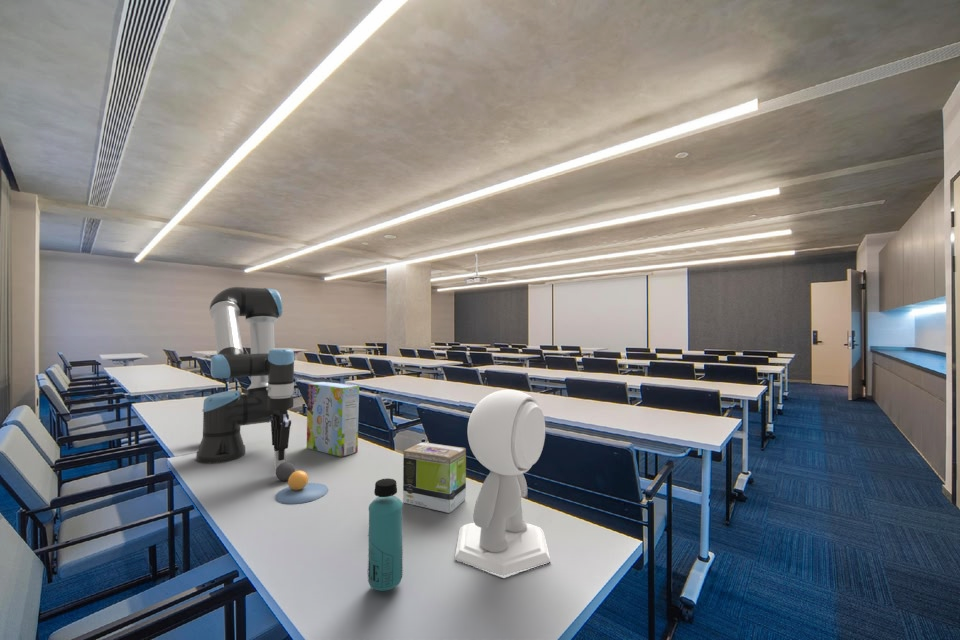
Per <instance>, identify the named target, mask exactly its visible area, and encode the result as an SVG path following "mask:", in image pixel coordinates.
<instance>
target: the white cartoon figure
mask: <svg viewBox="0 0 960 640" xmlns="http://www.w3.org/2000/svg"><path fill="white" fill-rule="evenodd" d="M545 420H546V419H545V415H544V413H543V411H542V409H541V407H540V406H539V403H538V402H537V400H536V399H535V398H534V397H533V396H532V395H530V394H528V393H526V392H523V391H520V390H516V389H500V390H496V391H494V392H492V393H491V392H490V393H489V394H487V395H486V396H484V397H483V398H482V399H481V400H479V402H477V404H476V405H475V406H474V408H473V410H472V411H471V413H470V416H469V419H468V423H467V428H466V429H467V433H466V434H467V440H468V444H469V447H470V450H471V452H472V454H473V456H474V457H475V458H476V460H477V461H478V462H479V463H480V464H481V465H482V466H483V467H484V468H486V469H488V470H489V473H488V475H487V476H486V478H485V479H484V481H483V482H482V486H481V488H480V490H479V493H478V496H477V498H476V500H475V505H474V507H473V508H474V509H473V513H472V514H473V515H472V516H473V522H470V523H467V524H463V525H462V526H461V527H460V528H459V531H458V537H457V543H456V550H455V554H454V555H455V556H454V560H455V561H456V560H457V562H459V561H460V562H459V563H461V562H463V563H462V564H464V563H465V564H464V565H466V564H468V565H467V566H469V565H472V566H474V567H478V568H480V569H484V570H487V571H489V572H493V573H496V574H499V575H503V576H504V575H507V574H510V573H513V572H517V571H520V570H524V569H528V568H531V567H535V566H538V565H541V564H544V563H548V562H550V563H551V557H550V553H549V552H550V551H549V549H548V548H549V547H548V545H547V540H546V536H545V532H544V530H543V529H542V528H541V527H540V526H537V525H534V524H531V523H528V522H525V520H523V519H524V518H523V508H522V497H527V494H528V485H527V480H526V478H525V475H524V474H526V473H527V472H529V470H530V469H531V468H532V466H533V465H535V464H536V463H537V462H538V461H539V459H540V457H541V454H542V451H543V448H544V446H545V441H546V440H545V439H546V421H545ZM474 567H473V568H474Z"/></svg>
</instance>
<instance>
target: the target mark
mask: <svg viewBox="0 0 960 640" xmlns="http://www.w3.org/2000/svg"><path fill="white" fill-rule="evenodd" d="M328 492H329V487H328V486H327V485H325V484H323V483H320V482H319V483H318V482H308V483H307V485H306V486H305V487H304V488H303V489H301V490H297V491H296V490H292V489H291V488H290V487H289V486H287V487H285V488H282V489H281V490H279V491H277V493H276V494H275V496H274V498H275V500H276V501H277V502H278V503H280V502H281V504H284V503H285V504H286V505H297V504H299V503H300V504H304V503H305V502H306V503H309V502H313V501H316V500H318V499H321V498H322V497H324V496H325V495H327V494H328ZM300 504H299V505H300Z"/></svg>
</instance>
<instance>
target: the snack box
mask: <svg viewBox="0 0 960 640" xmlns="http://www.w3.org/2000/svg"><path fill="white" fill-rule="evenodd" d="M359 403H360V385H355V384H348V383H347V384H346V383H338V382H328V381H317V382H310V383H307V413H306V415H307V416H306V449H309V450H314V451H318V452H321V453H326V454H329V455H332V456H336V457H340V458H343V457H345V456H350V455H352V454H356V453H358V450H359V449H358V446H359V441H358V440H359V406H360V405H359Z"/></svg>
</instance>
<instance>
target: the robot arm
mask: <svg viewBox="0 0 960 640" xmlns="http://www.w3.org/2000/svg"><path fill="white" fill-rule="evenodd" d="M209 315H210V317H211V319H213V324H214V337H215V346H216V354H214V355H211V357H210V375H211V377H212V378H213V379H232V378H244V377H245V378H246V377H250V380H251V381H250V382H251V383H250V385H249V386H248V387H247V388H246V393H242V392H241V390H227V391H222V392H217V393H213V394H210V395H208V396H206V397H205V399H204V400H203V407H202V412H203V417H202V418H203V419H202V437H201V441H200V444H199V447H198V450H197V452H196V456H195V457H196V459H195V461H197V462H198V463H201V464H216V463H217V464H218V463H225V462H230V461H233V460H236V459H237V460H238V459H239V458H241V456H242V457H243V456H244V455H246V445H245V444H244V440H243V437H242V434H241V426H250V425H256V424H257V425H258V424H266V423H270V428H271V429H270V431H271V444H272V445H271V446H273V450H274V459H273V460H274V466H273V467H274V471H275V472H276V469H277V467H278V466H279V465H280V464H281V463H284V462H286V450H287V449H288V447H289V443H290V442H289V440H290V439H289V438H290V433H291V432H290V431H291V425H292V420H291V419H290V420H289V418H290V415H289V413H288V411H289V410H290V409H293V408H294V396H293V395H294V391H295V387H294V386H295V382H294V380H295V379H294V373H295V371H294V370H295V354H294V353H295V351H294V350H293V349H292V348H276V347H275V344H276V343H275V342H276V341H275V324H276V323H277V322H278V321H279V318H281V317H282V315H283V301H282V298H281V294H280V292H279V291H278V290H276V289H275V288H273V289H272V288H267V287H263V288H262V287H261V288H260V287H246V286H244V287H243V286H231V287H228V288H225V289H223V290H222V291H220V292H219V293H217V294H216V295H215V296H214V297H213V299H212V300H211V302H210V305H209ZM239 317H244V318H245V322H246V323H247V324H248V325H249V333H250V334H249V335H250V336H249V337H250V340H249V341H250V353H244V347H243V341H242V336H241V328H240V322H239Z"/></svg>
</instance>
